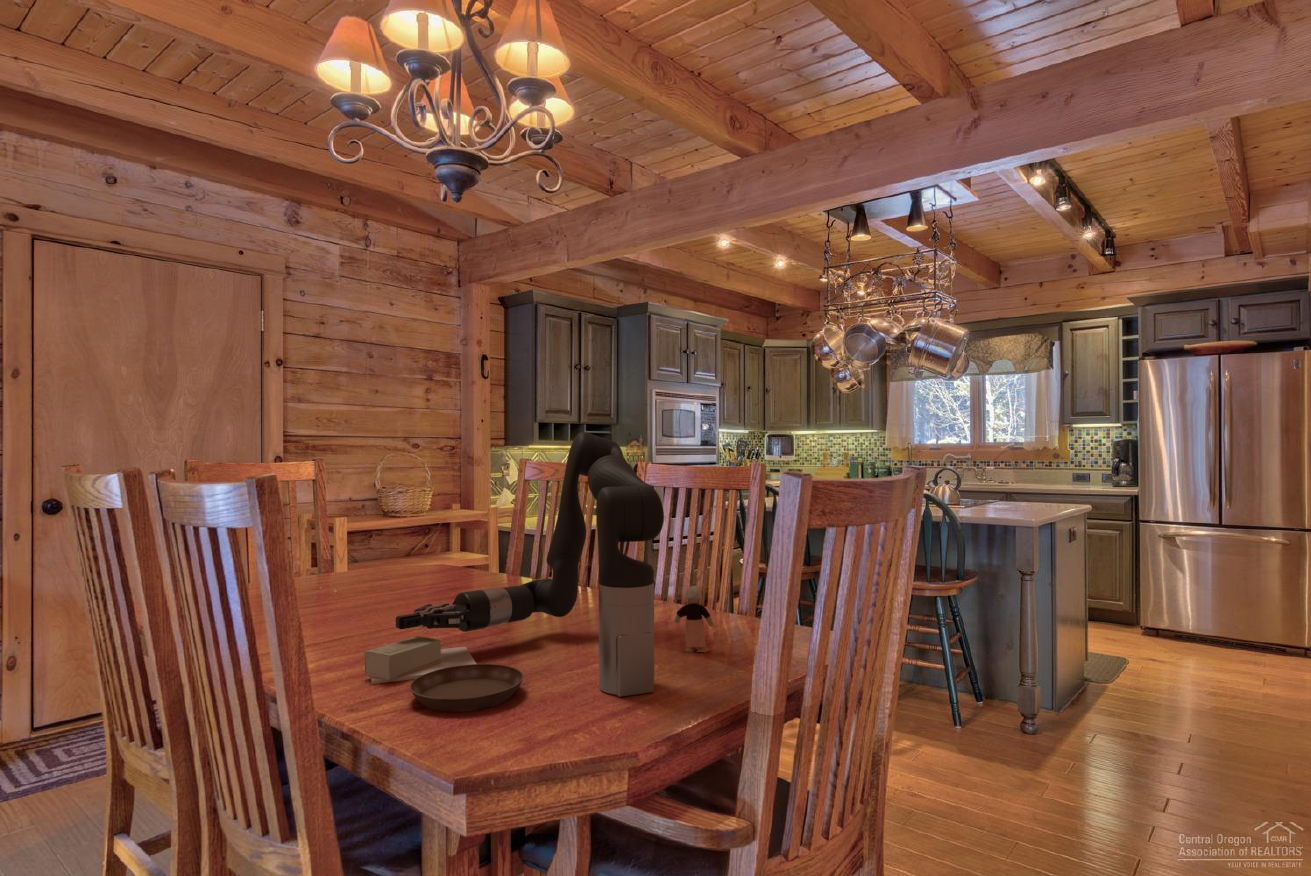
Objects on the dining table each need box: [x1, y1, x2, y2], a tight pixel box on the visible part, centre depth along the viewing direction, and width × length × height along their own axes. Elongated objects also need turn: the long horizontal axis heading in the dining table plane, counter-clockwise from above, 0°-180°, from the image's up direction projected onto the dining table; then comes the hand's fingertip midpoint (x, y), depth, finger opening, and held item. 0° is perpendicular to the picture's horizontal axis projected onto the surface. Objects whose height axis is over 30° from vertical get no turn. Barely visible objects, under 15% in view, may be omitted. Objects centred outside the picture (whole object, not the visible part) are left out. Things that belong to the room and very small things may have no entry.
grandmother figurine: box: [674, 585, 714, 653], centre depth 147 cm, size 8×4×13 cm, turn 84°
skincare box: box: [364, 636, 442, 680], centre depth 133 cm, size 6×4×12 cm
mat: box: [370, 646, 477, 685], centre depth 138 cm, size 16×18×1 cm
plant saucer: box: [409, 663, 524, 713], centre depth 120 cm, size 18×18×3 cm
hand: (397, 623), depth 135 cm, fingers closed
